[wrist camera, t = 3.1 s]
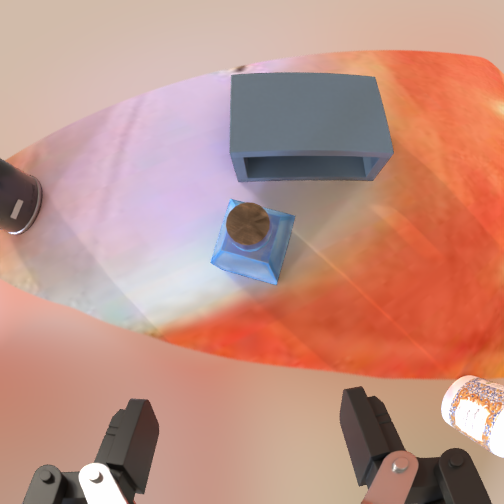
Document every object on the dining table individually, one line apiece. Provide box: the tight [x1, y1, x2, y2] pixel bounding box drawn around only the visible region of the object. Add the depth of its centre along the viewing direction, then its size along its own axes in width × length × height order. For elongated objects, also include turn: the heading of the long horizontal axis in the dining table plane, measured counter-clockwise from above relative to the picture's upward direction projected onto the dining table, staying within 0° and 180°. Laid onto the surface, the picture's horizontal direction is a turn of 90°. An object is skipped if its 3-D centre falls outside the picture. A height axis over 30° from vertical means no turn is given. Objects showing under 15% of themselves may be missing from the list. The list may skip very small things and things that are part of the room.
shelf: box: [229, 73, 394, 182], centre depth 32 cm, size 16×10×8 cm, turn 91°
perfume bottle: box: [211, 199, 295, 285], centre depth 28 cm, size 6×6×12 cm
